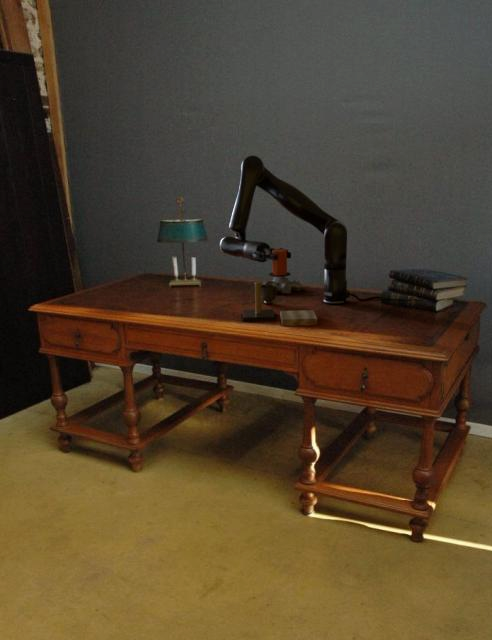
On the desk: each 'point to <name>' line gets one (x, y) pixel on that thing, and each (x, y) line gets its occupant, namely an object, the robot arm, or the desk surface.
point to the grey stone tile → (298, 318)
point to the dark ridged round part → (268, 293)
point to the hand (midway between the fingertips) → (283, 256)
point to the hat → (280, 264)
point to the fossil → (284, 285)
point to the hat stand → (258, 309)
